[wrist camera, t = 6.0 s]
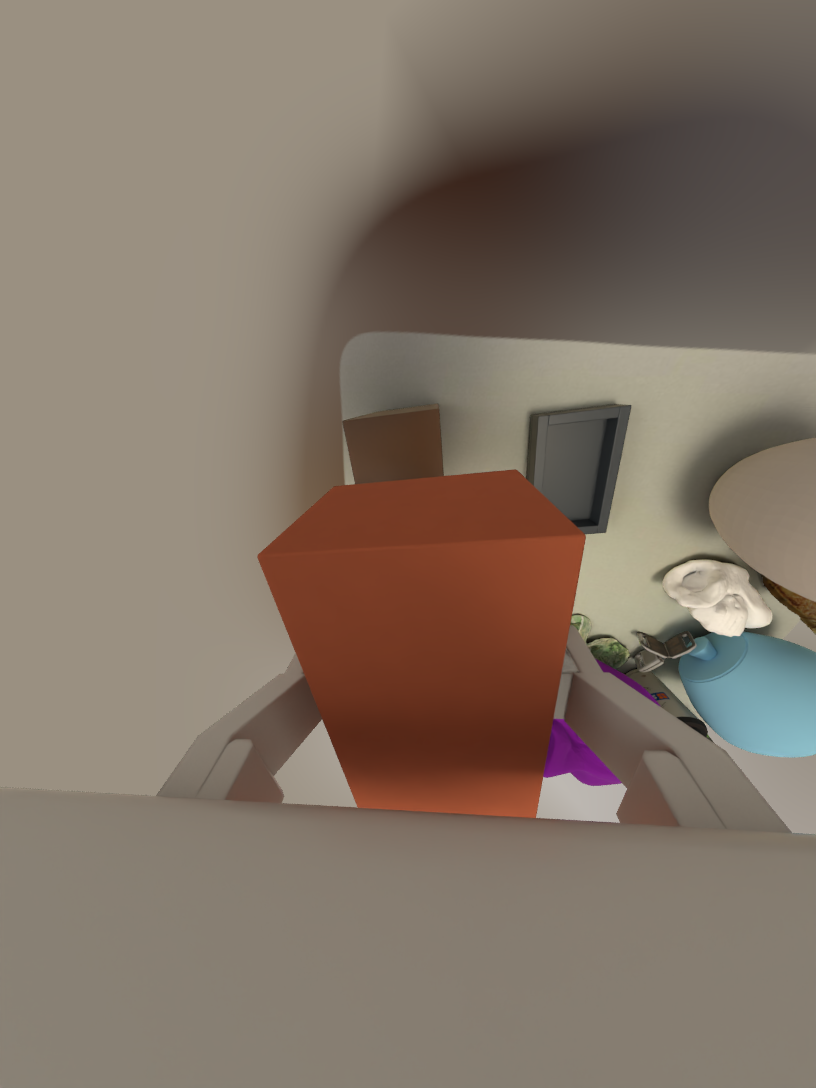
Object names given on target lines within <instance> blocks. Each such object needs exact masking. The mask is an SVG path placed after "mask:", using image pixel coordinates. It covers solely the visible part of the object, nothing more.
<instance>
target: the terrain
mask: <svg viewBox="0 0 816 1088" xmlns="http://www.w3.org/2000/svg"><path fill="white" fill-rule="evenodd" d="M570 625H573V626H574V627H576V628H577V630H578V632H579V633H580V635H581V637H582V638H583V640H584V642H585V643H586V639H587V637H588V634H589V631H590V629H591V623H590V620H589V619H588V618H586V617H585V616H581V615H574V616H572V617H571V623H570ZM586 645H587V647H588V648H589V650H590V651H591V653H592V655H593V656H594V658H595V659H597V660H599V661H601V662H603V663H605V664H606V665H608V666H610V667H612V668H614V669H616V668H619V667H620V666H622V665H623V664H624V663H625V662H627V661H628V660H627V659H628V657H629V656H630V654H629V651H627V650H628V649H627V648H624V647H623V646H622V645H620V644H619V642H618V641H617V640H615V639H613V638H601V639H599V640H598V639H597V640H594V642H593V643H589V644H587V643H586Z"/></svg>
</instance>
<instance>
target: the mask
mask: <svg viewBox="0 0 816 1088" xmlns="http://www.w3.org/2000/svg"><path fill="white" fill-rule="evenodd" d="M595 660H596V661H597V663H598V665H599V666H600V668H601V670H602V671H603V672H606V673H611V674H612V675H614V676H615V677H617V678H618V679H620V680H621V681H623V682H624V683H626V684H627V685H629V686H630V687H632V688H633V689H635V690H636V691H638V692H639V693H640V694H642V695H643V696H645V697H646V698H648V699H649V700H651V701H652V702H654V703H655V704H657V705H658V706H660V705H659V704H658V702H657V701H656V700H655V699H654V698H653V696H652V695H651V694H650V693H649V692H648V691H647V690H646V689H645V688H643V687H642V686H641V685H640V684H638V683H637V682H636V681H634V680H633V679H631V678H629V677H628V676H626V675H625V674H623V673H621V672H619V671H617V670H616V669H614V668H612V667H610V666H608V665H606V664H605V663H603V662H601V661H599V660H597V659H595ZM660 707H661V706H660ZM566 773H571V774H572V775H573V776H575V777H576V778H577V779H578V780H579V781H581V782H582V783H585V784H587V785H591V786H601V785H611V784H620V783H622V782H621V781H620V780H619V779H618V778H617V777H616V776H615V775H614V774H613V773H612V772H611V771H610V769H609V768H608V767H607V766H606V765H605V764H604V763H603V762H602V761H601V760H600V759H599V758H598V757H597V756H596V754H595V753H594V752H593V751H592V750H591V749H590V748H589V747H588V746H587V745H586V744H585V743H584V742H583V741H582V739H581V738H580V737H579V736H578V735H577V734H576V733H575V732H574V731H573V730H572V729H571V728H570V727H569V726H568V724H567V723H566V722H565V721H564V719H553V724H552V730H551V735H550V741H549V746H548V752H547V758H546V763H545V769H544V775H543V777H546V778H548V777H553V776H557V775H561V774H566Z"/></svg>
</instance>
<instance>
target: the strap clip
mask: <svg viewBox="0 0 816 1088" xmlns="http://www.w3.org/2000/svg"><path fill="white" fill-rule="evenodd" d="M637 635H638V638H639V641H640V644H641V646H642V647H644V648H645V650H643V651H640V652H639V653H638V654H637V655H636V656H635V657H634V659H635V662H636V666H637V669H638V670H639V671H640V672H648V671H651V670H653V669H655V668H657V667H658V666H660V665H662V664H664V662H663V661H665V659H664V658H668V657H669V658H674V659H675V658H677V657H680V656H682V655H684V654H687V653H689V652H691V651H692V650H693V649H694V648H695V647H696V643H695V641H694V639H693V637H692V635H691V633H690V632H688V631H686V632H683V633H680V634H678V635H677V636H675V637H673V638H671V639H670V640H668V641H666V642H665V644H663V643H662V642H660V641H658V640H656V639H654V638H652V637H650V636H648V635H646V634H644V633H641V632H638V633H637ZM687 635H688V637H689V639H690V641H691V643H692V645H691V646H689V647H688V648H687V647H686V645H685V643H684V640H683V638H684V637H685V636H687ZM643 638H645V639H646V642H647V645H648V646H646V645H645V644H644V643H643ZM641 659H642V660H643V663H644V666H641V663H640V660H641Z"/></svg>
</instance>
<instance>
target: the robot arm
mask: <svg viewBox="0 0 816 1088" xmlns="http://www.w3.org/2000/svg"><path fill="white" fill-rule="evenodd" d="M553 719H564V721H565V722H566V723H567V724H568V726H569V727H570V728H571V729H572V730H573V731H574V732H575V733H576V734H577V735H578V736H579V737H580V738H581V739H582V741H583V742H584V743H585V744H586V745H587V746H588V747H589V748H590V749H591V750H592V751H593V752H594V753H595V754H596V756H597V757H598V758H599V759H600V760H601V761H602V762H603V763H604V764H605V765H606V766H607V767H608V768H609V769H610V771H611V772H612V773H613V774H614V775H615V776H616V777H617V778H618V779H619V780H620V781H621V782H622V783H623V784H624V785H625V786H626V788H627V791H626V793H625V795H624V798H623V800H622V802H621V804H620V807H619V809H618V811H617V813H616V814H617V816H618V819H619V821H620V823H611V822H593V821H577V820H560V819H541V818H526V817H509V816H492V815H475V814H458V813H441V812H424V811H407V810H390V809H372V808H354V807H338V806H321V805H302V804H285V803H282V801H283V798H284V794H283V791H282V789H281V787H280V786H279V784H278V783H277V781H276V779H275V778H274V775H275V774H276V773H277V771H278V770H279V769H280V768H281V767H282V766H283V764H284V763H285V762H286V761H287V760H288V758H289V757H290V756H291V755H292V754H293V753H294V751H295V750H296V749H297V748H298V747H299V746H300V744H301V743H302V742H303V741H304V740H305V738H306V737H307V736H308V735H309V734H310V733H311V731H312V730H313V729H314V728H315V727H316V726H317V724H318V723H319V722H320V721H321V720H322V717H321V715H320V712H319V710H318V707H317V705H316V702H315V700H314V697H313V695H312V692H311V690H310V687H309V685H308V682H307V680H306V677H305V675H304V672H303V670H302V667H301V665H300V662H299V660H298V657H297V655H296V654H295V655H294V657H293V659H292V661H291V663H290V664H289V666H288V668H287V670H286V672H285V673H284V674H279V675H278V676H277V677H275V678H274V679H272V680H271V681H270V682H268V683H267V684H266V685H265V686H263V687H262V688H261V689H259V690H258V691H257V692H255V693H254V694H253V695H251V696H250V697H249V698H247V699H246V700H245V701H243V702H242V703H241V704H240V705H238V706H237V707H236V708H234V709H233V710H232V711H231V712H229V713H228V714H226V715H225V716H224V717H223V718H221V719H220V720H219V721H217V722H216V723H215V724H213V725H212V726H211V727H209V728H208V729H207V730H206V731H204V732H203V733H201V734H200V735H199V736H198V737H197V738H196V740H195V741H194V742H193V744H192V745H191V747H190V748H189V750H188V751H187V752H186V754H185V756H184V757H183V758H182V760H181V761H180V762H179V764H178V765H177V767H176V768H175V770H174V771H173V772H172V774H171V775H170V777H169V778H168V780H167V781H166V782H165V784H164V785H163V787H162V788H161V790H160V791H159V792H158V794H157V795H156V796H147V795H130V794H113V793H95V792H79V791H61V790H60V791H59V790H44V789H43V790H42V789H27V788H9V787H0V1088H816V834H799V833H792V832H791V831H790V830H789V829H788V827H787V826H786V825H785V824H784V822H783V821H782V820H781V819H780V818H779V816H778V815H777V814H776V813H775V811H774V810H773V809H772V808H771V806H770V805H769V804H768V803H767V802H766V800H765V799H764V798H763V796H762V795H761V794H760V793H759V792H758V790H757V789H756V788H755V787H754V785H753V784H752V783H751V782H750V780H749V779H748V778H747V777H746V776H745V774H744V773H743V772H742V771H741V769H740V768H739V767H738V766H737V764H736V763H735V762H734V761H733V759H732V758H731V757H730V756H729V755H728V753H727V752H726V751H725V750H723V749H722V748H720V747H719V746H717V745H716V744H715V743H713V742H712V741H710V740H709V739H707V738H706V737H704V736H703V735H701V734H700V733H698V732H697V731H695V730H694V729H692V728H691V727H689V726H688V725H686V724H685V723H683V722H682V721H680V720H679V719H678V718H676V717H675V716H673V715H672V714H670V713H669V712H667V711H666V710H664V709H663V708H661V707H660V706H658V705H657V704H655V703H654V702H652V701H651V700H649V699H648V698H646V697H645V696H643V695H642V694H640V693H639V692H638V691H636V690H635V689H633V688H632V687H630V686H629V685H627V684H626V683H624V682H623V681H621V680H620V679H618V678H617V677H615V676H614V675H612V674H611V673H606V672H603V671H602V670H601V668H600V666H599V665H598V663H597V661H596V660H595V658H594V656H593V655H592V653H591V651H590V650H589V648H588V647H587V645H586V643H585V642H584V640H583V638H582V637H581V635H580V633H579V632H578V630H577V628H576V627H574V626H573V625H570V628H569V634H568V640H567V645H566V651H565V657H564V662H563V668H562V673H561V679H560V685H559V690H558V696H557V701H556V707H555V713H554V718H553Z"/></svg>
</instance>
